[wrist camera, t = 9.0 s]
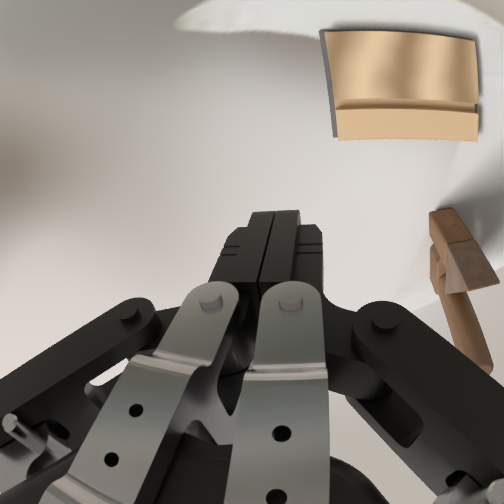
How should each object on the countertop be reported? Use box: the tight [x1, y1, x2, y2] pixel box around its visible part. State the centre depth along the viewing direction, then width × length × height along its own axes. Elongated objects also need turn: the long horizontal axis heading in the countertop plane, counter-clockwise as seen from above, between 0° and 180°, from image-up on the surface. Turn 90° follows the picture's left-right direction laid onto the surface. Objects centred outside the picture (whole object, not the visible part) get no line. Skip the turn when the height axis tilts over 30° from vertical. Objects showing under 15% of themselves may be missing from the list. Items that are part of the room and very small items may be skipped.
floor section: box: [319, 29, 479, 142], centre depth 25 cm, size 17×12×2 cm
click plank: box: [324, 31, 479, 104], centre depth 24 cm, size 16×7×1 cm, turn 100°
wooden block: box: [429, 208, 500, 374], centre depth 28 cm, size 4×11×18 cm, turn 20°
